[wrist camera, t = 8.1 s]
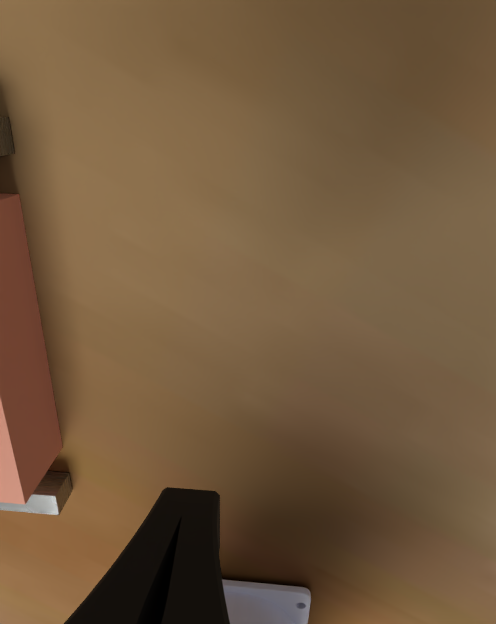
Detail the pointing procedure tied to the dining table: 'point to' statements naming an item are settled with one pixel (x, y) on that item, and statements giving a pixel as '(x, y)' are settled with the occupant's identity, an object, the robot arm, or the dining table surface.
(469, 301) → the dining table surface
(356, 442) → the dining table surface
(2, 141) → the bay
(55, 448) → the t block
